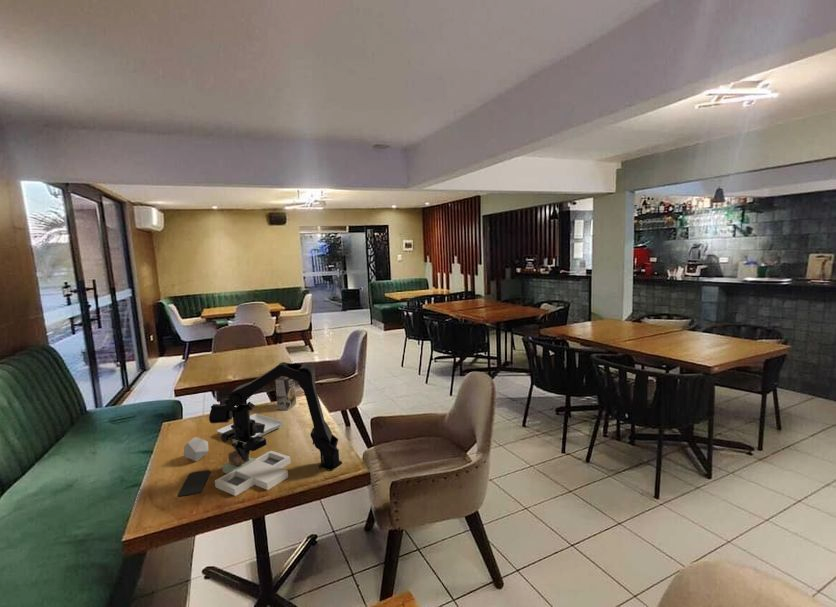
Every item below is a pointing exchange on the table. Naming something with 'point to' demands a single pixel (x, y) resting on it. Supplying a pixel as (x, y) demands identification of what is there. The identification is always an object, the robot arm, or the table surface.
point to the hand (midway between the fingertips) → (245, 461)
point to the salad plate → (269, 422)
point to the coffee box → (285, 393)
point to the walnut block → (236, 459)
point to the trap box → (254, 473)
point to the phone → (194, 483)
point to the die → (195, 449)
